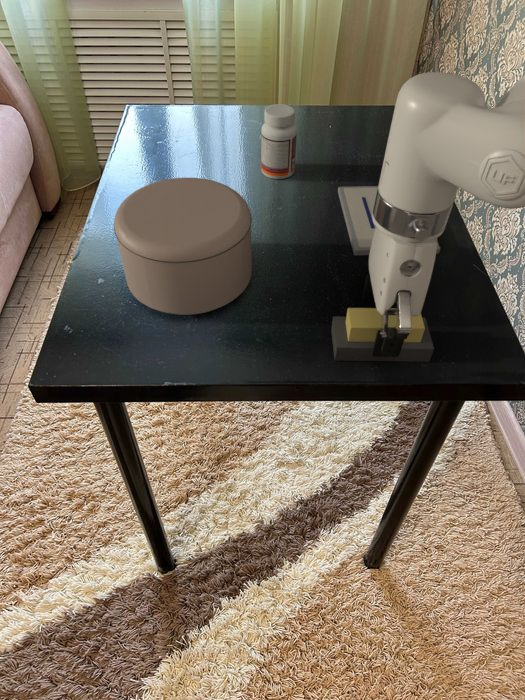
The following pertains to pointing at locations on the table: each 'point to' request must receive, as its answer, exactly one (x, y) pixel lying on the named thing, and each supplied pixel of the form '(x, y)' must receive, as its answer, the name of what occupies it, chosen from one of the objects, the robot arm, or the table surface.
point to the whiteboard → (360, 216)
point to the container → (185, 244)
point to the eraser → (360, 332)
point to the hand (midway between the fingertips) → (379, 325)
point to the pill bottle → (278, 141)
